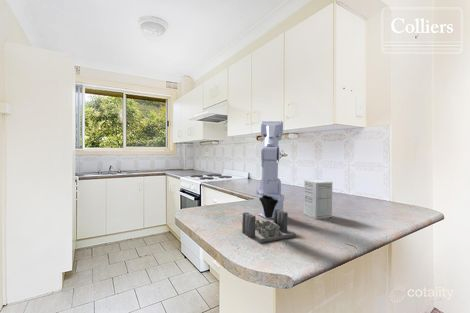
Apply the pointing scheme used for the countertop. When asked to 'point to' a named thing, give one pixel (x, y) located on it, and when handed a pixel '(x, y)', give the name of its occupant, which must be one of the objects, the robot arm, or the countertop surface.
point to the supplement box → (318, 199)
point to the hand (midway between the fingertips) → (268, 217)
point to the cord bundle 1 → (248, 225)
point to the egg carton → (267, 228)
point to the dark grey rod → (276, 238)
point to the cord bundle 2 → (281, 219)
